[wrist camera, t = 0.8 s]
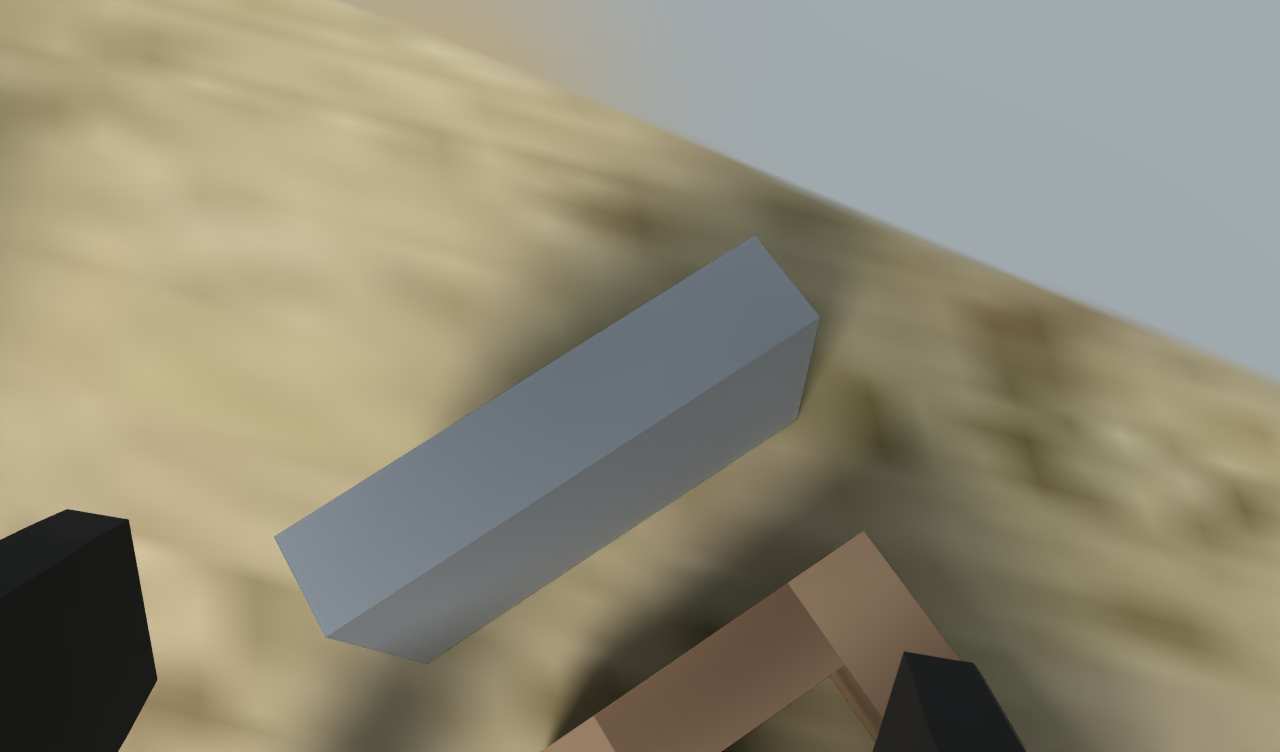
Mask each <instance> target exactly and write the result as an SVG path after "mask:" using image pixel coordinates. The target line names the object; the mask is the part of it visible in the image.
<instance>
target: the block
mask: <svg viewBox="0 0 1280 752" xmlns="http://www.w3.org/2000/svg"><path fill="white" fill-rule="evenodd" d="M904 651H905V652H911V653H917V654H923V655H929V656H935V657H940V658H946V659H952V660H958V661H961V660H960V659H959V657H958V656H957V655H956V653H955V652H954V651H953V649H952V648H951V647H950V645H949V644H948V643H947V641H946V640H945V639H944V637H943V636H942V635H941V633H940V632H939V631H938V629H937V628H936V627H935V625H934V624H933V623H932V621H931V620H930V619H929V617H928V616H927V615H926V613H925V612H924V611H923V609H922V608H921V607H920V605H919V604H918V603H917V601H916V600H915V599H914V597H913V596H912V595H911V593H910V592H909V591H908V589H907V588H906V586H905V585H904V584H903V582H902V581H901V580H900V578H899V577H898V576H897V574H896V573H895V572H894V570H893V569H892V568H891V566H890V565H889V564H888V562H887V561H886V560H885V558H884V557H883V556H882V554H881V553H880V552H879V550H878V549H877V548H876V546H875V545H874V544H873V542H872V541H871V540H870V538H869V537H868V536H867V534H866V533H865V532H864V531H863V532H861V533H860V534H858V535H857V536H855V537H854V538H852V539H851V540H849V541H848V542H847V543H845V544H844V545H842V546H841V547H839V548H838V549H836V550H835V551H833V552H832V553H830V554H829V555H828V556H826V557H825V558H823V559H822V560H820V561H819V562H817V563H816V564H814V565H813V566H811V567H810V568H809V569H807V570H806V571H804V572H803V573H801V574H800V575H798V576H797V577H795V578H794V579H792V580H791V581H790V582H788V583H787V584H785V585H784V586H782V587H781V588H779V589H778V590H776V591H775V592H774V593H772V594H771V595H769V596H768V597H766V598H765V599H763V600H762V601H760V602H759V603H757V604H756V605H755V606H753V607H752V608H750V609H749V610H747V611H746V612H744V613H743V614H741V615H740V616H738V617H737V618H736V619H734V620H733V621H731V622H730V623H728V624H727V625H725V626H724V627H722V628H721V629H719V630H718V631H717V632H715V633H714V634H712V635H711V636H709V637H708V638H706V639H705V640H703V641H702V642H701V643H699V644H698V645H696V646H695V647H693V648H692V649H690V650H689V651H687V652H686V653H684V654H683V655H682V656H680V657H679V658H677V659H676V660H674V661H673V662H671V663H670V664H668V665H667V666H665V667H664V668H663V669H661V670H660V671H658V672H657V673H655V674H654V675H652V676H651V677H649V678H648V679H646V680H645V681H644V682H642V683H641V684H639V685H638V686H636V687H635V688H633V689H632V690H630V691H629V692H628V693H626V694H625V695H623V696H622V697H620V698H619V699H617V700H616V701H614V702H613V703H611V704H610V705H609V706H607V707H606V708H604V709H603V710H601V711H600V712H598V713H597V714H595V715H594V716H592V717H591V718H590V719H588V720H587V721H585V722H584V723H582V724H581V725H579V726H578V727H576V728H575V729H573V730H572V731H571V732H569V733H568V734H566V735H565V736H563V737H562V738H560V739H559V740H557V741H556V742H554V743H553V744H552V745H550V746H549V747H547V748H546V749H544V750H543V751H541V752H722V751H723V750H725V749H726V748H727V747H729V746H730V745H732V744H733V743H734V742H736V741H737V740H739V739H740V738H742V737H743V736H744V735H746V734H747V733H749V732H750V731H752V730H753V729H754V728H756V727H757V726H759V725H760V724H761V723H763V722H764V721H766V720H767V719H769V718H770V717H771V716H773V715H774V714H776V713H777V712H779V711H780V710H781V709H783V708H784V707H786V706H787V705H788V704H790V703H791V702H793V701H794V700H796V699H797V698H798V697H800V696H801V695H803V694H804V693H806V692H807V691H808V690H810V689H811V688H813V687H814V686H815V685H817V684H818V683H820V682H821V681H823V680H824V679H825V678H827V677H828V676H830V677H831V678H832V680H833V681H834V683H835V684H836V686H837V687H838V688H839V690H840V691H841V693H842V694H843V696H844V697H845V699H846V700H847V701H848V703H849V704H850V706H851V707H852V709H853V710H854V711H855V713H856V714H857V716H858V717H859V719H860V720H861V722H862V723H863V724H864V726H865V727H866V729H867V730H868V732H869V733H870V735H871V736H872V737H873V739H874V740H875V742H876V740H877V736H878V733H879V730H880V727H881V723H882V720H883V717H884V714H885V710H886V707H887V704H888V701H889V698H890V694H891V691H892V688H893V685H894V681H895V678H896V675H897V672H898V668H899V665H900V662H901V659H902V655H903V652H904ZM1022 744H1023V743H1022ZM1023 745H1024V744H1023ZM1024 747H1025V746H1024ZM1025 749H1026V751H1027V752H1029V751H1028V750H1027V748H1026V747H1025Z"/></svg>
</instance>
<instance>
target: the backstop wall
mask: <svg viewBox="0 0 1280 752" xmlns="http://www.w3.org/2000/svg"><path fill="white" fill-rule="evenodd" d="M819 320H820V316H819V315H818V313H817V312H816V311H815V310H814V308H813V307H812V306H811V305H810V303H809V302H808V301H807V300H806V298H805V297H804V296H803V295H802V293H801V292H800V291H799V290H798V288H797V287H796V286H795V285H794V283H793V282H792V281H791V280H790V278H789V277H788V276H787V275H786V273H785V272H784V271H783V270H782V268H781V267H780V266H779V265H778V263H777V262H776V261H775V260H774V258H773V257H772V256H771V255H770V253H769V252H768V251H767V250H766V248H765V247H764V246H763V245H762V243H761V242H760V241H759V240H758V238H757V237H756V236H755V235H753V236H752V237H750V238H749V239H747V240H746V241H744V242H742V243H741V244H739V245H738V246H736V247H734V248H733V249H731V250H730V251H728V252H726V253H725V254H723V255H722V256H720V257H718V258H717V259H715V260H714V261H712V262H710V263H709V264H707V265H706V266H704V267H703V268H701V269H699V270H698V271H696V272H695V273H693V274H691V275H690V276H688V277H687V278H685V279H683V280H682V281H680V282H679V283H677V284H675V285H674V286H672V287H671V288H669V289H668V290H666V291H664V292H663V293H661V294H660V295H658V296H656V297H655V298H653V299H652V300H650V301H648V302H647V303H645V304H644V305H642V306H640V307H639V308H637V309H636V310H634V311H632V312H631V313H629V314H628V315H626V316H625V317H623V318H621V319H620V320H618V321H617V322H615V323H613V324H612V325H610V326H609V327H607V328H605V329H604V330H602V331H601V332H599V333H597V334H596V335H594V336H593V337H591V338H589V339H588V340H586V341H585V342H583V343H582V344H580V345H578V346H577V347H575V348H574V349H572V350H570V351H569V352H567V353H566V354H564V355H562V356H561V357H559V358H558V359H556V360H554V361H553V362H551V363H550V364H548V365H547V366H545V367H543V368H542V369H540V370H539V371H537V372H535V373H534V374H532V375H531V376H529V377H527V378H526V379H524V380H523V381H521V382H519V383H518V384H516V385H515V386H513V387H511V388H510V389H508V390H507V391H505V392H504V393H502V394H500V395H499V396H497V397H496V398H494V399H492V400H491V401H489V402H488V403H486V404H484V405H483V406H481V407H480V408H478V409H476V410H475V411H473V412H472V413H470V414H468V415H467V416H465V417H464V418H462V419H461V420H459V421H457V422H456V423H454V424H453V425H451V426H449V427H448V428H446V429H445V430H443V431H441V432H440V433H438V434H437V435H435V436H433V437H432V438H430V439H429V440H427V441H425V442H424V443H422V444H421V445H419V446H418V447H416V448H414V449H413V450H411V451H410V452H408V453H406V454H405V455H403V456H402V457H400V458H398V459H397V460H395V461H394V462H392V463H390V464H389V465H387V466H386V467H384V468H383V469H381V470H379V471H378V472H376V473H375V474H373V475H371V476H370V477H368V478H367V479H365V480H363V481H362V482H360V483H359V484H357V485H355V486H354V487H352V488H351V489H349V490H347V491H346V492H344V493H343V494H341V495H340V496H338V497H336V498H335V499H333V500H332V501H330V502H328V503H327V504H325V505H324V506H322V507H320V508H319V509H317V510H316V511H314V512H312V513H311V514H309V515H308V516H306V517H304V518H303V519H301V520H300V521H298V522H297V523H295V524H293V525H292V526H290V527H289V528H287V529H285V530H284V531H282V532H281V533H279V534H277V535H276V536H274V538H275V540H276V542H277V544H278V546H279V548H280V550H281V552H282V554H283V556H284V558H285V560H286V561H287V563H288V565H289V567H290V569H291V571H292V573H293V575H294V577H295V579H296V581H297V583H298V585H299V587H300V589H301V591H302V593H303V595H304V597H305V599H306V601H307V602H308V604H309V606H310V608H311V610H312V612H313V614H314V616H315V618H316V620H317V622H318V624H319V626H320V628H321V630H322V632H323V634H324V636H325V637H326V638H330V639H334V640H338V641H341V642H345V643H349V644H353V645H357V646H361V647H364V648H368V649H372V650H376V651H380V652H383V653H387V654H391V655H395V656H399V657H402V658H406V659H410V660H414V661H418V662H421V663H425V664H427V663H429V662H430V661H432V660H433V659H435V658H436V657H438V656H439V655H441V654H442V653H444V652H445V651H447V650H448V649H450V648H451V647H453V646H454V645H456V644H457V643H459V642H460V641H462V640H464V639H465V638H467V637H468V636H470V635H471V634H473V633H474V632H476V631H477V630H479V629H480V628H482V627H483V626H485V625H486V624H488V623H489V622H491V621H492V620H494V619H495V618H497V617H498V616H500V615H501V614H503V613H504V612H506V611H507V610H509V609H510V608H512V607H513V606H515V605H516V604H518V603H520V602H521V601H523V600H524V599H526V598H527V597H529V596H530V595H532V594H533V593H535V592H536V591H538V590H539V589H541V588H542V587H544V586H545V585H547V584H548V583H550V582H551V581H553V580H554V579H556V578H557V577H559V576H560V575H562V574H563V573H565V572H566V571H568V570H569V569H571V568H572V567H574V566H576V565H577V564H579V563H580V562H582V561H583V560H585V559H586V558H588V557H589V556H591V555H592V554H594V553H595V552H597V551H598V550H600V549H601V548H603V547H604V546H606V545H607V544H609V543H610V542H612V541H613V540H615V539H616V538H618V537H619V536H621V535H622V534H624V533H625V532H627V531H629V530H630V529H632V528H633V527H635V526H636V525H638V524H639V523H641V522H642V521H644V520H645V519H647V518H648V517H650V516H651V515H653V514H654V513H656V512H657V511H659V510H660V509H662V508H663V507H665V506H666V505H668V504H669V503H671V502H672V501H674V500H675V499H677V498H678V497H680V496H681V495H683V494H685V493H686V492H688V491H689V490H691V489H692V488H694V487H695V486H697V485H698V484H700V483H701V482H703V481H704V480H706V479H707V478H709V477H710V476H712V475H713V474H715V473H716V472H718V471H719V470H721V469H722V468H724V467H725V466H727V465H728V464H730V463H731V462H733V461H734V460H736V459H737V458H739V457H741V456H742V455H744V454H745V453H747V452H748V451H750V450H751V449H753V448H754V447H756V446H757V445H759V444H760V443H762V442H763V441H765V440H766V439H768V438H769V437H771V436H772V435H774V434H775V433H777V432H778V431H780V430H781V429H783V428H784V427H786V426H787V425H789V424H790V423H792V422H794V421H795V420H797V416H798V412H799V408H800V403H801V399H802V395H803V390H804V386H805V382H806V377H807V373H808V368H809V364H810V360H811V355H812V351H813V347H814V342H815V338H816V334H817V329H818V325H819Z"/></svg>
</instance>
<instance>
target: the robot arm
mask: <svg viewBox="0 0 1280 752" xmlns="http://www.w3.org/2000/svg"><path fill="white" fill-rule="evenodd" d="M156 681H157V674H156V669H155V663H154V658H153V652H152V647H151V641H150V635H149V630H148V624H147V619H146V613H145V608H144V602H143V596H142V591H141V585H140V580H139V574H138V569H137V563H136V557H135V552H134V546H133V541H132V535H131V530H130V524H129V520H128V519H122V518H116V517H110V516H104V515H98V514H93V513H87V512H81V511H75V510H69V509H66V510H64V511H62V512H60V513H57V514H55V515H53V516H50V517H48V518H46V519H44V520H41V521H39V522H37V523H35V524H33V525H30V526H28V527H26V528H24V529H22V530H20V531H18V532H16V533H14V534H12V535H10V536H7V537H5V538H3V539H1V540H0V752H118V751H119V749H120V747H121V746H122V744H123V742H124V740H125V739H126V737H127V735H128V733H129V732H130V730H131V728H132V726H133V724H134V722H135V720H136V719H137V717H138V715H139V713H140V711H141V709H142V707H143V706H144V704H145V702H146V700H147V698H148V696H149V694H150V693H151V691H152V689H153V687H154V685H155V683H156ZM873 752H1027V751H1026V749H1025V747H1024V745H1023V744H1022V742H1021V740H1020V739H1019V737H1018V735H1017V734H1016V732H1015V730H1014V729H1013V727H1012V725H1011V723H1010V722H1009V720H1008V718H1007V717H1006V715H1005V713H1004V712H1003V710H1002V708H1001V706H1000V705H999V703H998V701H997V700H996V698H995V696H994V694H993V693H992V691H991V689H990V688H989V686H988V684H987V683H986V681H985V679H984V677H983V676H982V674H981V673H980V671H979V670H978V669H977V667H976V666H975V665H974V663H970V662H964V661H958V660H952V659H946V658H940V657H935V656H929V655H923V654H917V653H911V652H905V651H904V652H903V655H902V659H901V662H900V665H899V668H898V672H897V675H896V678H895V681H894V685H893V688H892V691H891V694H890V698H889V701H888V704H887V707H886V710H885V714H884V717H883V720H882V723H881V727H880V730H879V733H878V736H877V740H876V743H875V746H874V749H873Z"/></svg>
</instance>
